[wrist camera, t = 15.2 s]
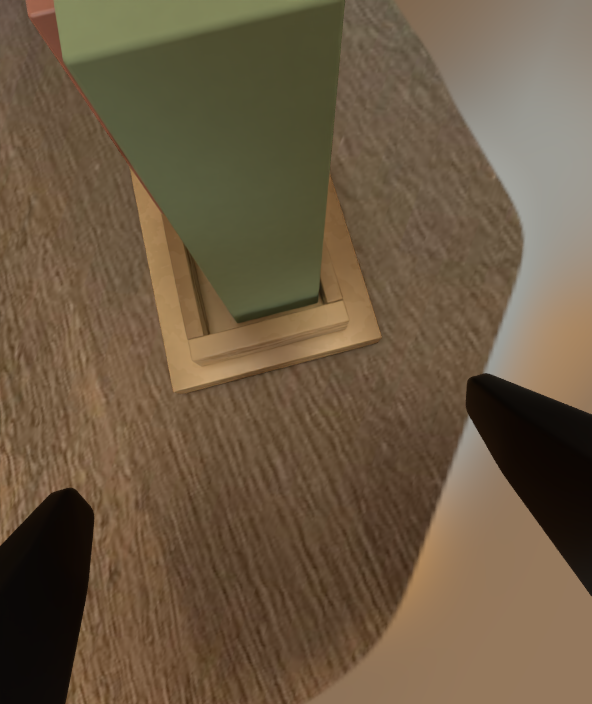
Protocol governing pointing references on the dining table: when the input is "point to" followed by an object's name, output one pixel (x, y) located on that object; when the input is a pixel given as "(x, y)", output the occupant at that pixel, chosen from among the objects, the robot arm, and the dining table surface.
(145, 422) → the dining table surface
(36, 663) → the robot arm
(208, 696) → the dining table surface
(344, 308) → the holder
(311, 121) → the tall sage green pillar
